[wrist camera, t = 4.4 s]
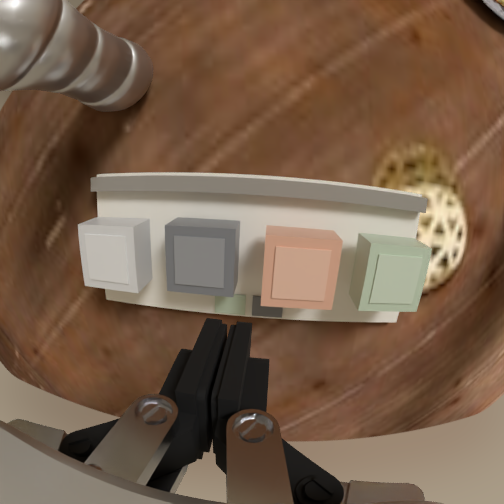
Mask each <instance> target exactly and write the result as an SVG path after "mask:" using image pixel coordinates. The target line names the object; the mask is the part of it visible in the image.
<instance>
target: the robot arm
mask: <svg viewBox="0 0 504 504" xmlns="http://www.w3.org/2000/svg"><path fill="white" fill-rule="evenodd" d="M251 333H252V323H246V322H237V324H236V325H231V327H230V330H229V334H228V337H227V324H222V320H218V319H210V318H207V319H206V321H205V323H204V325H203V328H202V330H201V332H200V334H199V337H198V339H197V341H196V344H195V346H194V348H193V350H187V349H181V350H180V352H179V354H178V356H177V358H176V360H175V362H174V364H173V366H172V368H171V370H170V372H169V374H168V376H167V378H166V381H165V383H164V385H163V387H162V389H161V391H160V393H159V394H148V395H144V396H141V397H139V398H137V399H136V400H135V401H134V402H133V403H132V404H131V405H130V407H129V408H128V409H127V410H126V411H125V413H124V414H123V415H122V416H121V418H119V419H116V420H113V421H110V422H107V423H103V424H100V425H96V426H93V427H90V428H86V429H82V430H79V431H75V432H72V433H70V434H66V432H65V431H64V430H59V429H55V428H51V427H47V426H43V425H40V424H36V423H32V422H29V421H26V420H21V419H16V420H12V421H10V422H9V423H8V424H7V423H5V422H3V421H0V504H442V503H437V502H430V501H425V498H424V494H423V492H422V490H421V489H420V488H419V487H417V486H416V485H414V484H409V483H380V482H364V481H353V480H351V481H350V482H349V483H347V482H346V483H345V482H340V481H338V480H337V479H336V478H335V477H334V476H332V475H331V474H329V473H328V472H327V471H325V470H323V469H322V468H321V467H319V466H318V465H316V464H315V463H314V462H312V461H311V460H310V459H308V458H307V457H305V456H304V455H303V454H301V453H300V452H299V451H297V450H296V449H295V448H293V447H292V446H291V445H290V444H288V443H287V442H286V441H285V440H283V439H282V438H281V433H280V427H279V424H278V422H277V420H276V419H275V418H274V417H273V416H272V415H270V414H269V413H267V412H266V407H267V392H268V375H269V359H261V358H250V346H251ZM212 439H213V453H215V454H216V464H217V466H218V467H219V468H220V469H221V470H222V471H223V472H224V473H225V474H226V486H227V503H221V502H215V501H208V500H203V499H198V498H192V497H188V496H183V495H178V494H175V492H176V490H177V488H178V486H179V484H180V482H181V481H182V479H183V477H184V475H185V473H186V471H187V467H188V464H190V463H193V462H195V461H196V460H197V459H202V456H203V452H209V451H210V447H211V443H212Z"/></svg>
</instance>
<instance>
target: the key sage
mask: <svg viewBox="0 0 504 504" xmlns="http://www.w3.org/2000/svg"><path fill="white" fill-rule="evenodd" d="M431 251H432V249H431V248H430V247H428V246H427V245H425V244H423V243H422V242H420V241H418V240H417V239H415V238H408V237H398V236H388V235H378V234H368V233H359V234H358V241H357V248H356V254H355V260H354V266H353V272H352V278H351V283H350V289H349V295H350V297H351V299H352V300H353V302H354V304H355V306H356V308H357V310H358V311H397V312H416V311H417V308H418V304H419V301H420V297H421V293H422V290H423V286H424V282H425V278H426V274H427V269H428V265H429V260H430V256H431Z"/></svg>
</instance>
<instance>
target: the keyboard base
mask: <svg viewBox="0 0 504 504" xmlns="http://www.w3.org/2000/svg"><path fill="white" fill-rule="evenodd" d="M92 191H97V209H98V217H120V218H147V219H150V240H151V261H152V277H153V279H152V280H151V281H150V282H149V283H148V284H147V285H146V286H145V287H144V288H143V289H142V290H141V291H140V292H139V293H131V292H124V291H117V290H110V289H105V293H106V299H107V300H113V301H119V302H126V303H132V304H139V305H146V306H154V307H161V308H169V309H177V310H186V311H194V312H204V313H214V314H224V315H235V316H247V317H260V318H274V319H290V320H310V321H336V322H396V321H397V317H398V314H399V312H397V311H358V310H357V308H356V306H355V304H354V302H353V300H352V299H351V297H350V295H349V289H350V283H351V278H352V272H353V266H354V260H355V254H356V248H357V241H358V234H359V233H368V234H378V235H388V236H398V237H408V238H415V239H416V234H417V228H418V222H419V215H420V212H422V213H426V206H427V198H424V197H422V195H421V194H417V193H412V192H406V191H400V190H393V189H387V188H380V187H373V186H366V185H358V184H350V183H342V182H333V181H324V180H314V179H303V178H292V177H279V176H264V175H247V174H226V173H188V172H149V173H112V174H98V175H97V177H92V178H91V192H92ZM177 217H182V218H202V219H220V220H236V221H240V239H239V262H238V282H237V286H236V289H235V293H234V296H233V297H223V296H212V295H202V294H192V293H182V292H173V291H167V278H166V256H165V225H166V224H167V223H169V222H171V221H172V220H174V219H176V218H177ZM266 225H272V226H285V227H298V228H311V229H323V230H334V231H335V233H336V234H337V235H338V236H339V237H340V238H341V239H342V240H343V244H342V251H341V258H340V264H339V271H338V277H337V283H336V289H335V294H334V300H333V305H332V310H322V309H301V308H284V307H269V306H261V293H262V279H263V265H264V251H265V237H266Z"/></svg>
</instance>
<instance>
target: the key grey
mask: <svg viewBox="0 0 504 504" xmlns="http://www.w3.org/2000/svg"><path fill="white" fill-rule="evenodd" d="M78 233H79V243H80V253H81V261H82V269H83V276H84V282H85V286H90V287H97V288H103V289H110V290H117V291H124V292H131V293H139V292H140V291H141V290H142V289H143V288H144V287H145V286H146V285H147V284H148V283H149V282H150V281H151V280H152V279H153V277H152V261H151V240H150V219H147V218H120V217H96V218H93V219H91V220H88V221H85V222H83V223H80V224H78Z"/></svg>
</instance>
